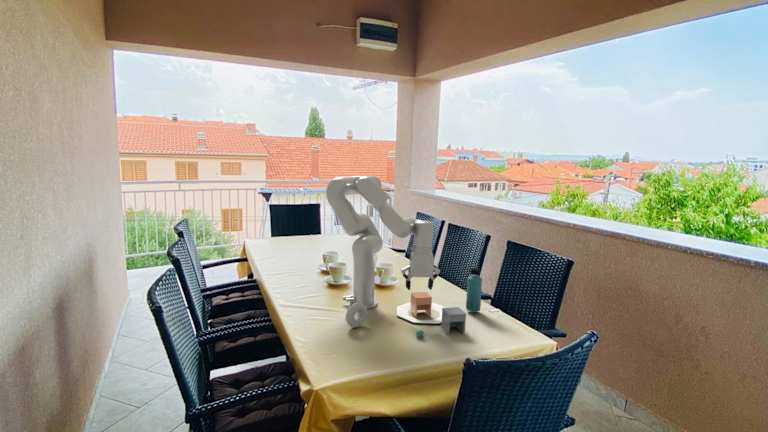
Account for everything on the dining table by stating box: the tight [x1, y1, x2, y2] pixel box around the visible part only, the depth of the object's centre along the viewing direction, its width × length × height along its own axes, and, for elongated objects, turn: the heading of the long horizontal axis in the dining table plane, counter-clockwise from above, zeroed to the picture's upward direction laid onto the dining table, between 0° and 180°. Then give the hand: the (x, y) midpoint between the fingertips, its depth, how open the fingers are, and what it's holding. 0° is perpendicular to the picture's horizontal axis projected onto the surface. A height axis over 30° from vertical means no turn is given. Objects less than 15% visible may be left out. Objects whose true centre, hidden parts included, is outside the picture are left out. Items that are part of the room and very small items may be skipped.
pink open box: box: [410, 291, 433, 317], centre depth 171 cm, size 7×7×8 cm
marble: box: [415, 329, 425, 339], centre depth 150 cm, size 3×3×3 cm
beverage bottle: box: [465, 267, 483, 313], centre depth 175 cm, size 6×7×20 cm
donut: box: [345, 303, 368, 329], centre depth 157 cm, size 10×4×10 cm, turn 132°
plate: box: [396, 301, 447, 325], centre depth 174 cm, size 24×24×2 cm
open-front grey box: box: [441, 306, 467, 336], centre depth 157 cm, size 7×7×8 cm
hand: (419, 288), depth 171 cm, fingers open, 9 cm apart
